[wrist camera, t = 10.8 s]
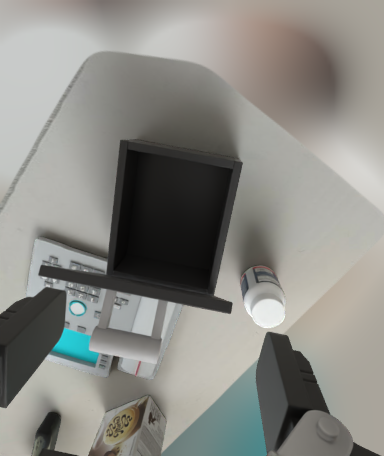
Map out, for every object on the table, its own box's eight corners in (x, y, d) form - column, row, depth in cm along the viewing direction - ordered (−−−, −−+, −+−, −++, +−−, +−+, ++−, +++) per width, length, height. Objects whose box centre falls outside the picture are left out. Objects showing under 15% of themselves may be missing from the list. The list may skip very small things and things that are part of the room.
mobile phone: (32, 432, 51) (18, 498, 55) (50, 437, 51) (35, 503, 55) (48, 407, 56) (34, 470, 60) (64, 412, 56) (50, 474, 60)
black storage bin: (135, 139, 42) (120, 139, 35) (239, 158, 42) (242, 162, 35) (121, 256, 47) (105, 275, 40) (214, 274, 46) (213, 297, 40)
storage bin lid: (40, 264, 23) (18, 343, 22) (232, 302, 22) (219, 384, 21) (105, 274, 40) (94, 318, 39) (213, 295, 39) (205, 340, 38)
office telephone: (189, 291, 45) (152, 399, 50) (190, 283, 47) (155, 387, 53) (29, 241, 44) (10, 356, 50) (39, 235, 47) (19, 345, 52)
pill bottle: (254, 304, 47) (262, 341, 39) (233, 278, 46) (236, 309, 38) (284, 285, 46) (299, 318, 37) (263, 257, 45) (274, 285, 37)
